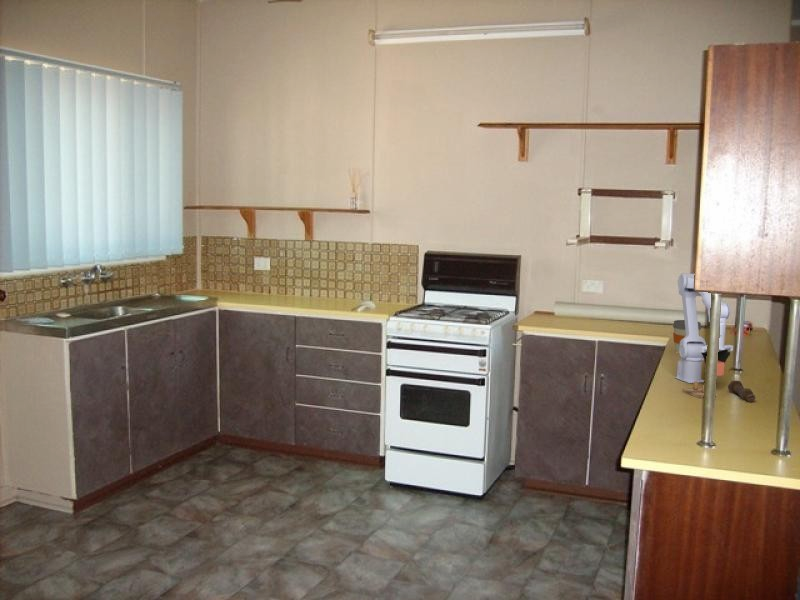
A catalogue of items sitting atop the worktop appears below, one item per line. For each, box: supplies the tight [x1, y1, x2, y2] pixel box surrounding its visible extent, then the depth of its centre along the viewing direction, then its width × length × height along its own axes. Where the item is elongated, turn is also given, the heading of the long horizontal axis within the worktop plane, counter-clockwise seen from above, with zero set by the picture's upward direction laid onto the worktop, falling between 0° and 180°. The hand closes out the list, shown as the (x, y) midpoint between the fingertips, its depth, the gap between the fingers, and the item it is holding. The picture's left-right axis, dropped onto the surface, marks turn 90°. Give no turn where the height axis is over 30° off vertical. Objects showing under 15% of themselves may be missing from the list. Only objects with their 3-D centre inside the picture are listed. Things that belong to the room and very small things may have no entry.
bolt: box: [727, 379, 756, 403], centre depth 300 cm, size 6×5×15 cm
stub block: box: [681, 382, 718, 399], centre depth 303 cm, size 10×8×4 cm
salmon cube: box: [716, 361, 725, 377], centre depth 305 cm, size 5×5×5 cm
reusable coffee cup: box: [672, 319, 702, 354], centre depth 379 cm, size 13×13×15 cm
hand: (714, 369), depth 305 cm, fingers closed on salmon cube, 5 cm apart
